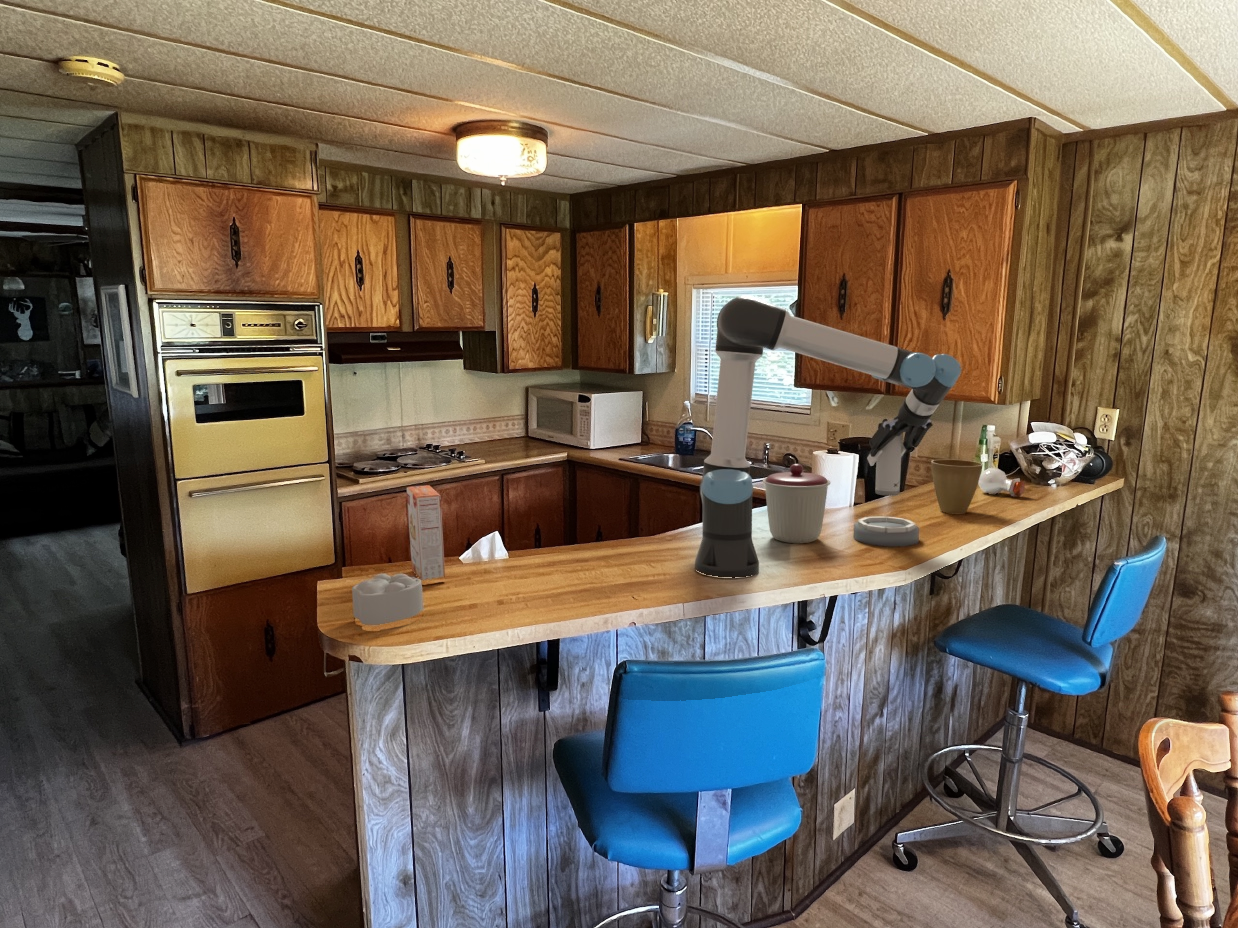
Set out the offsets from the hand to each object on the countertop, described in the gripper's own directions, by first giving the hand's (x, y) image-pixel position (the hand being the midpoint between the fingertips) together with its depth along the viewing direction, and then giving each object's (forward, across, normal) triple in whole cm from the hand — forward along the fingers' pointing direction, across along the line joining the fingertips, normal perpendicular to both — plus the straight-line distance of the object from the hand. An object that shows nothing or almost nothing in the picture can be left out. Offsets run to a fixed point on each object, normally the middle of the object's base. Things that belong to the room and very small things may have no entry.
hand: (881, 461), depth 212 cm
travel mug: (+4, 0, -9) cm, 9 cm away
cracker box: (+10, -122, -20) cm, 125 cm away
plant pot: (+31, +40, 0) cm, 50 cm away
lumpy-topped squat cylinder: (-10, -129, -40) cm, 135 cm away
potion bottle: (+45, +73, +15) cm, 87 cm away
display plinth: (+12, 0, -17) cm, 21 cm away
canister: (+17, -24, -13) cm, 32 cm away
